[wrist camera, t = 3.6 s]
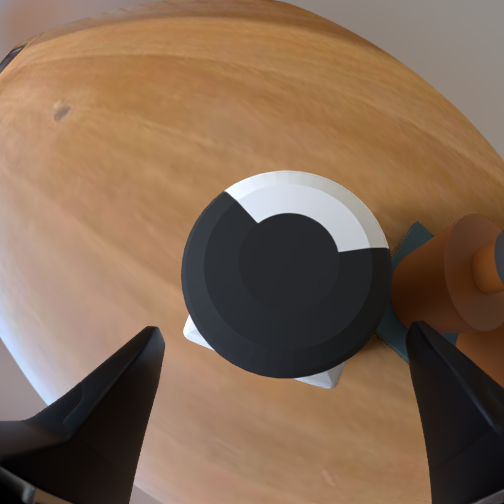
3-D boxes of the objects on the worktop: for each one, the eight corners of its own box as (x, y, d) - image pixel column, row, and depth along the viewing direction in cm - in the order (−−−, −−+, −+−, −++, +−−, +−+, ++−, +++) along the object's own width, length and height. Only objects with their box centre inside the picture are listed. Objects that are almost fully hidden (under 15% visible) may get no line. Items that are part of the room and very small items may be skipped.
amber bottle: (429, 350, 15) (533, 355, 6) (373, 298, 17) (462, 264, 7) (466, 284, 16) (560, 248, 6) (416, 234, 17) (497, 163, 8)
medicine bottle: (315, 368, 17) (372, 432, 5) (215, 333, 18) (117, 339, 7) (347, 269, 18) (432, 186, 7) (251, 238, 20) (214, 122, 8)
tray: (499, 448, 11) (504, 451, 11) (350, 312, 18) (354, 311, 17) (538, 377, 13) (544, 378, 12) (412, 225, 19) (417, 220, 18)
